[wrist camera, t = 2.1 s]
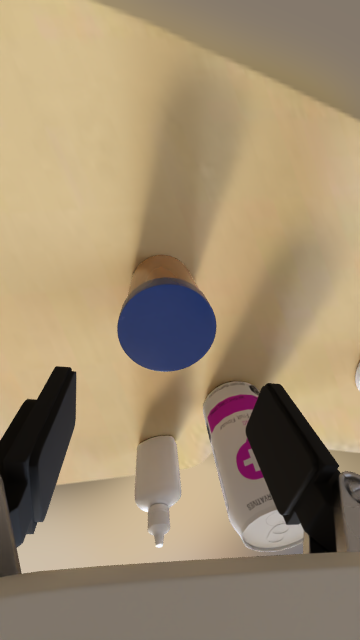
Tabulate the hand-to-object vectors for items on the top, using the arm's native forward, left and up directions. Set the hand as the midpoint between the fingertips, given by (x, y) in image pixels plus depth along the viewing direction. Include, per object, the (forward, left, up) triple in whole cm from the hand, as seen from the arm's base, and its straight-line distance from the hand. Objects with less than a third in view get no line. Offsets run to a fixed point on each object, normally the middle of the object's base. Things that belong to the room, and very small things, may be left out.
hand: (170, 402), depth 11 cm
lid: (0, 0, -7) cm, 7 cm away
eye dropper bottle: (-3, +24, -17) cm, 30 cm away
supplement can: (-12, +15, -17) cm, 26 cm away
